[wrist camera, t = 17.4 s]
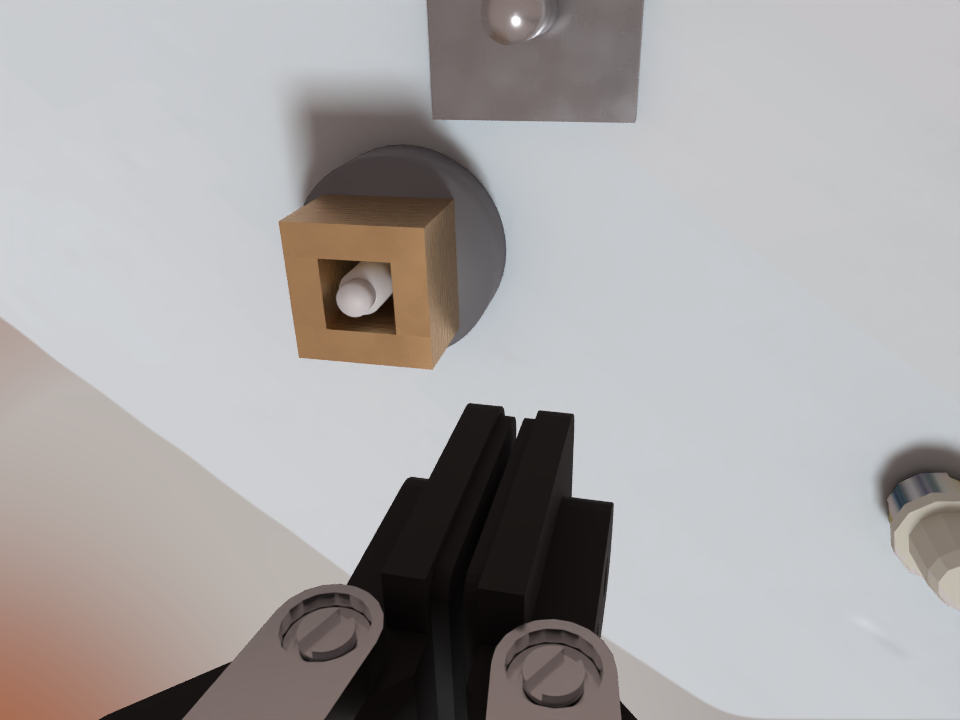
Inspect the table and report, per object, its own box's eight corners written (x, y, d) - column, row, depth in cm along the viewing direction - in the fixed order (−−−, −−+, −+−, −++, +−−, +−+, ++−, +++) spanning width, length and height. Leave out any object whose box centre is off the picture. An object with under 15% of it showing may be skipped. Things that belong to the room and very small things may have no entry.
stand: (652, -124, 32) (645, -143, 27) (636, 119, 37) (627, 143, 32) (428, -112, 35) (382, -128, 29) (438, 116, 39) (400, 137, 34)
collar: (454, 198, 38) (423, 227, 33) (459, 327, 41) (432, 369, 36) (323, 194, 39) (278, 221, 35) (338, 318, 42) (299, 357, 38)
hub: (505, 147, 39) (462, 188, 32) (506, 341, 44) (470, 415, 37) (308, 142, 41) (225, 178, 34) (330, 326, 46) (262, 393, 39)
